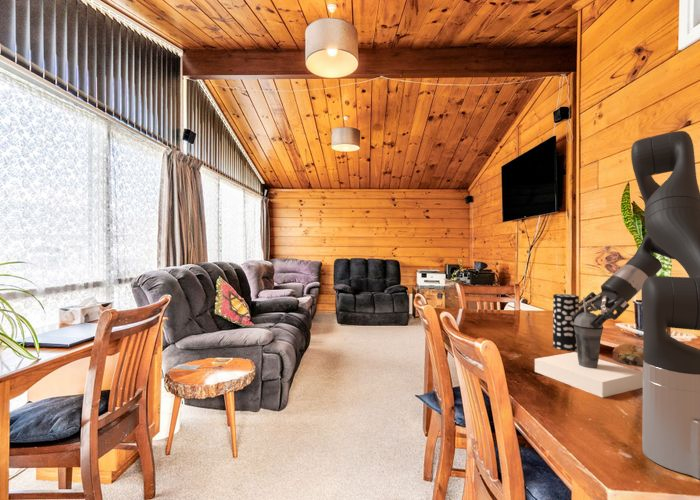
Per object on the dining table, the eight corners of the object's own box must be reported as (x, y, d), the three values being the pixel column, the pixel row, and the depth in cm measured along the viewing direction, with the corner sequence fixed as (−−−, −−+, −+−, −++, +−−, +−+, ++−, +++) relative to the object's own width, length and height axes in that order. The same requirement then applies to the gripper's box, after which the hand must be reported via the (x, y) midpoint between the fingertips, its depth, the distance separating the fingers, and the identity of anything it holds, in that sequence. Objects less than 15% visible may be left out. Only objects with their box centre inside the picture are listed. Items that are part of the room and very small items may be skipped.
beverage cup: (608, 370, 97) (609, 299, 97) (579, 368, 98) (579, 298, 98) (595, 362, 104) (596, 295, 104) (568, 360, 105) (569, 295, 105)
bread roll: (653, 376, 113) (660, 353, 115) (636, 366, 110) (643, 342, 111) (620, 366, 123) (626, 345, 124) (603, 357, 119) (610, 335, 120)
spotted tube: (548, 346, 135) (548, 294, 134) (562, 343, 138) (562, 293, 138) (569, 352, 127) (569, 297, 127) (583, 349, 131) (583, 296, 130)
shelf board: (645, 386, 96) (645, 372, 95) (602, 397, 89) (602, 382, 89) (574, 364, 114) (574, 352, 114) (534, 371, 107) (534, 358, 107)
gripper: (598, 272, 108) (560, 309, 109) (633, 276, 94) (589, 318, 94) (616, 289, 108) (578, 326, 108) (654, 296, 93) (609, 338, 94)
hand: (583, 322), depth 101 cm, fingers open, 8 cm apart
